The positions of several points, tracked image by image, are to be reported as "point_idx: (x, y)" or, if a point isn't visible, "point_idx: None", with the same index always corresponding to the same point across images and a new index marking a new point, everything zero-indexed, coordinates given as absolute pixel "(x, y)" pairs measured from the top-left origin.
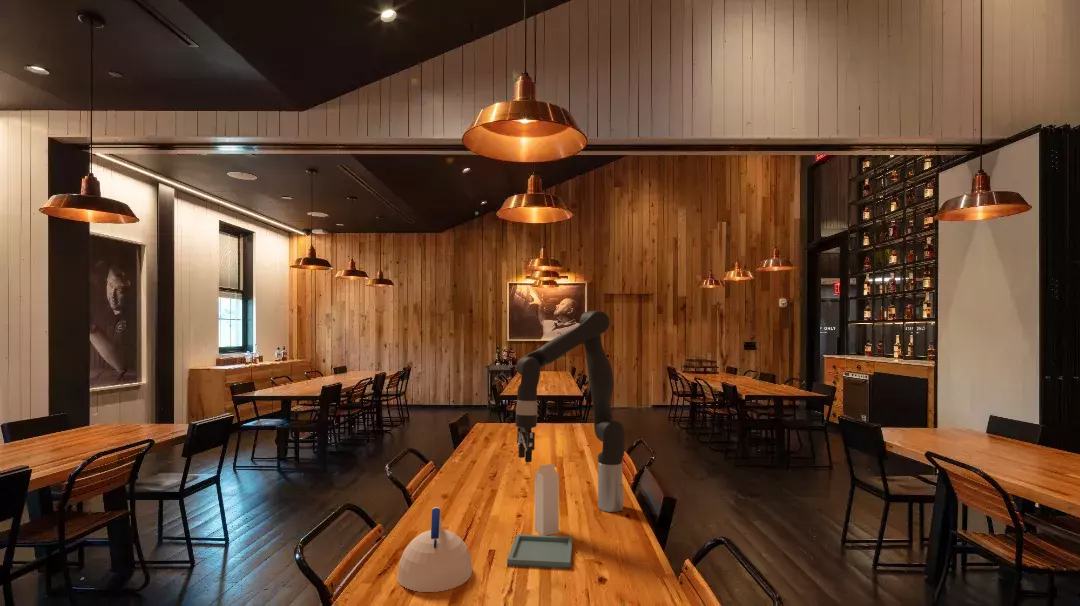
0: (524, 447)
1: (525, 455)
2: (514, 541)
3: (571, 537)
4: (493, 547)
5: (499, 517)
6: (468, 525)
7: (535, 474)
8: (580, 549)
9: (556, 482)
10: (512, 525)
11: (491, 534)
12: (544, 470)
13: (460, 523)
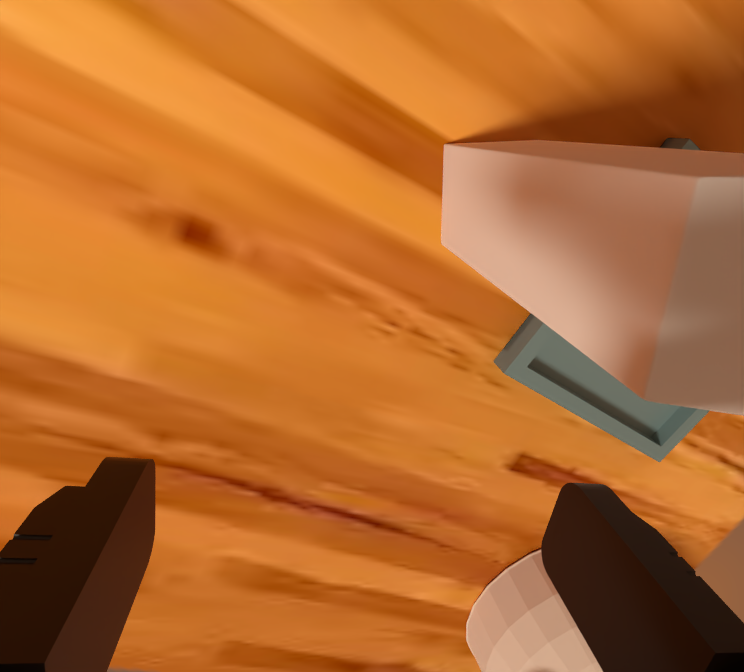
0: (48, 666)
1: (617, 660)
2: (559, 402)
3: (691, 149)
4: (501, 454)
5: (188, 346)
6: (243, 492)
7: (653, 396)
8: (738, 144)
9: None
10: (328, 322)
11: (385, 433)
12: None
13: (205, 516)
